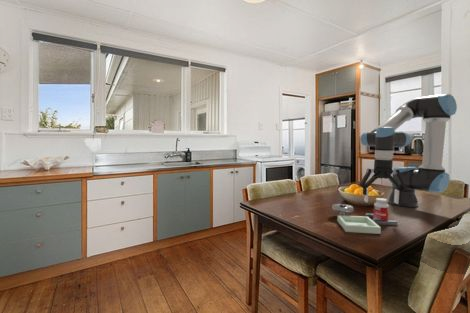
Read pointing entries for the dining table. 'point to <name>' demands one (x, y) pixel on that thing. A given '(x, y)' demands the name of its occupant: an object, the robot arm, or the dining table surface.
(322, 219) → the dining table surface
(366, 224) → the tray
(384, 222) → the tensioner bracket
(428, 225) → the dining table surface
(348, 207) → the pulley
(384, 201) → the pill bottle
